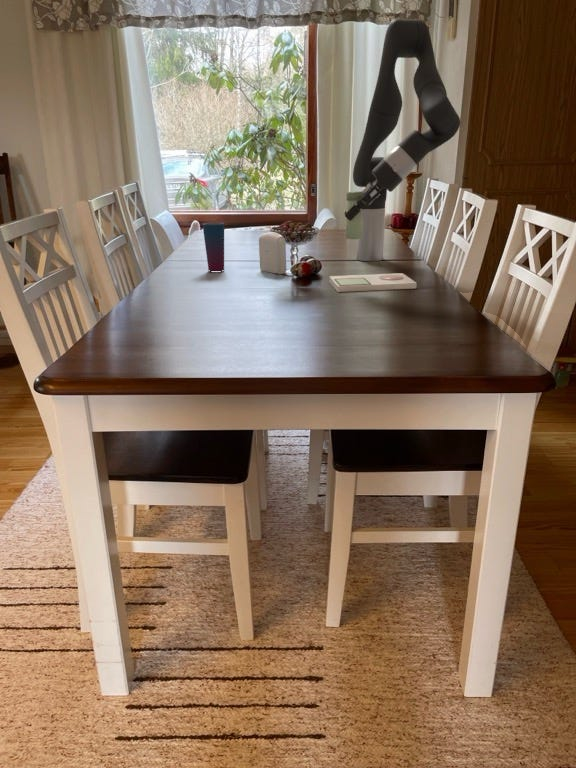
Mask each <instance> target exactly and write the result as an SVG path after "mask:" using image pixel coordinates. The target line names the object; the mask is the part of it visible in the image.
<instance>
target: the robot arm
mask: <svg viewBox="0 0 576 768" xmlns="http://www.w3.org/2000/svg"><path fill="white" fill-rule="evenodd" d="M385 31H386V32H385V36H384V40H383V47H382V53H381V59H380V65H379V71H378V76H377V80H376V85H375V87H374V88H375V89H374V93H373V97H372V98H371V102H370V105H369V106H370V107H369V112H368V116H367V121H366V125H365V129H364V134H363V137H362V141H361V145H360V147H359V150H358V153H357V155H356V159H355V161H354V165H353V170H352V179H353V180H352V181H353V184H354V185H355V186H356V187H359V188H364V189H362V191H361V192H363V193H362V194H361V195H360V196H359V197H360V199H359V200H358V201H357V202H355V204H354V206H353V207H352V208H351V209H350V210H349V211H348V212H347V213H346V210H345V211H344V216H345V219H346V218H347V219H348V220H349V221H351V220H352V219H353V218H354V217H355V216H356V215H357V214H358V213H359V212H360V211H362V210H363V226H362V239H356V260H357V261H362V262H377V261H378V262H379V261H383V260H384V249H385V247H384V244H385V223H386V222H385V221H386V217H385V215H386V201H387V197H388V195H387V194H388V192H391V193H392V192H393V191H394V190H395V189H396V188H397V187H398V186H399V185H400V184H401V183H402V182H403V180H405V179H406V178H407V177H408V176H409V175H410V174H411V172H412V171H413V170H414V168H415V167H416V166H417V165H418V164H419V163H420V162H421V161H422V160H423V159H424V158H425V157H426V156H427V155H428V154H429V153H431V152H432V151H434V150H436V149H437V148H439V147H441V146H442V145H444V144H445V143H447V142H448V141H450V140H451V139H452V138H453V137H454V136H455V135H456V134H457V133H458V131H459V128H460V126H461V118H460V116H459V114H458V113H457V111H456V108H454V106H453V105H452V102H451V101H450V99H449V97H448V93H447V89H446V87H445V83H444V82H443V80H442V78H441V76H440V73H439V70H438V67H437V63H436V58H435V52H434V48H433V43H432V37H431V33H430V30H429V28H428V25H427V23H426V22H425V21H424V20H422V19H416V18H415V19H413V18H412V19H409V18H407V19H406V18H394V19H392V20H391V21H390V22H389V24H388V26H387V29H386V30H385ZM399 58H402V59H403V58H404V59H405V58H406V59H409V58H410V59H413V58H416V60H417V61H418V66H417V68H416V70H415V73H414V75H413V80H412V81H413V82H412V83H413V88H414V92H415V95H416V97H417V99H418V100H417V101H418V102H419V104H420V108H421V109H420V110H421V112H422V115H423V119H424V120H425V122H426V124H427V125H428V127H429V129H428V130H426V131H424V132H420V131H419V130H416V129H415V130H412V131H410V132H409V133H408V134H407V135H406V136H405V137H404V138H403V139H402V141H401V142H399V143H398V145H397V146H396V147H394V148H393V149H391V151H389V152H388V153H387V154H386V155H385V156H384V157H383V156H374V154H375V152H376V150H377V149H378V148H379V147H380V146H381V145H382V143H383V142H384V141H385V140H386V139H388V137H389V136H390V135H391V134H392V133H393V132H394V130H395V129H396V127H397V125H398V122H399V119H400V116H401V112H402V108H403V98H402V93H401V91H400V87H399V84H398V81H397V79H396V64H397V61H398V59H399ZM362 200H363V203H362V202H361V201H362Z"/></svg>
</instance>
